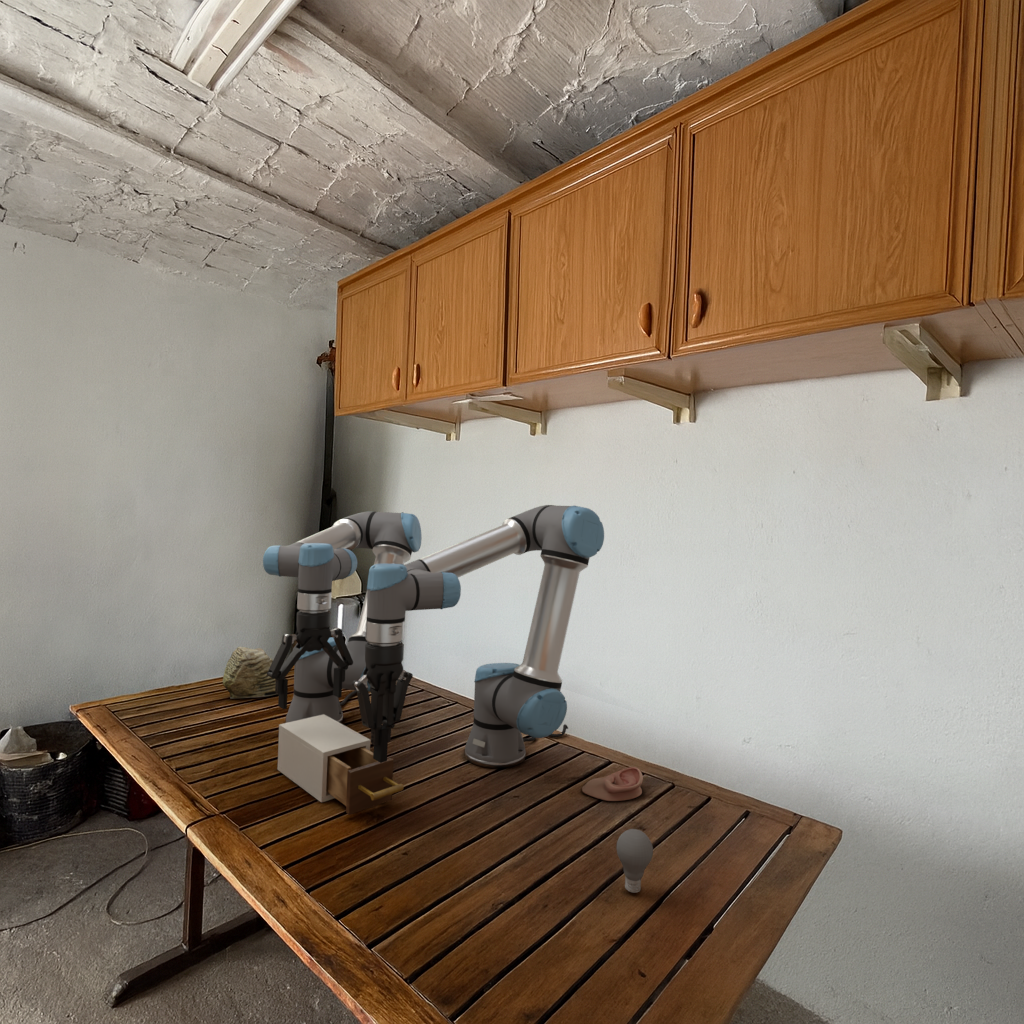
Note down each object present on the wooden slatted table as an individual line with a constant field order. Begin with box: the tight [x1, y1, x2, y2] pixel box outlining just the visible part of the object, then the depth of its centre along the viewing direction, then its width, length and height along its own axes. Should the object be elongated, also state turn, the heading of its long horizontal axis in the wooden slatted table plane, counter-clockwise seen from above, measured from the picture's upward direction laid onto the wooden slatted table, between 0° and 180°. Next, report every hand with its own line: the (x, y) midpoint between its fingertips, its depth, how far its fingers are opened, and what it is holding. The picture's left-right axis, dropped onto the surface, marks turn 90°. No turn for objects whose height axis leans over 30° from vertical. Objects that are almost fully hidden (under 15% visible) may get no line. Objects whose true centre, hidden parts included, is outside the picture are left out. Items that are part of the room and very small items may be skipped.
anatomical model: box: [581, 766, 644, 802], centre depth 142 cm, size 13×4×12 cm
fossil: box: [222, 646, 278, 699], centre depth 198 cm, size 9×18×15 cm, turn 132°
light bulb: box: [615, 828, 654, 894], centre depth 106 cm, size 6×6×10 cm
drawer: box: [326, 747, 404, 816], centre depth 133 cm, size 25×10×8 cm, turn 45°
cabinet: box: [277, 714, 371, 804], centre depth 142 cm, size 21×11×10 cm, turn 45°
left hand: (310, 701), depth 147 cm, fingers open, 13 cm apart
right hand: (380, 759), depth 126 cm, fingers closed
